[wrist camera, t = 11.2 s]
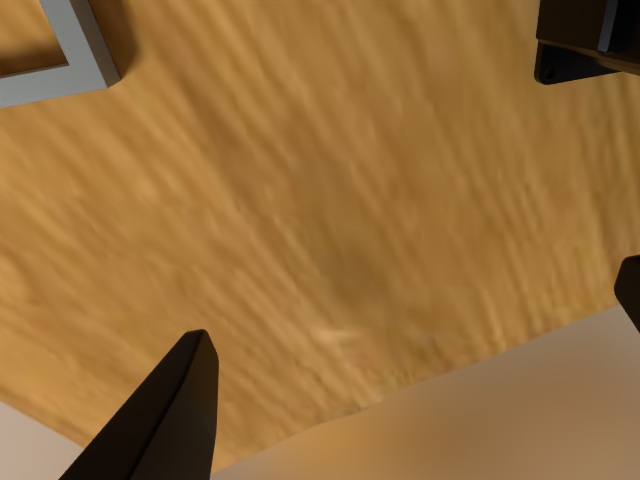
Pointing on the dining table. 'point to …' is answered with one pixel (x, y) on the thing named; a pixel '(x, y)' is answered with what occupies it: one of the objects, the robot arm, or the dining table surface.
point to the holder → (80, 51)
